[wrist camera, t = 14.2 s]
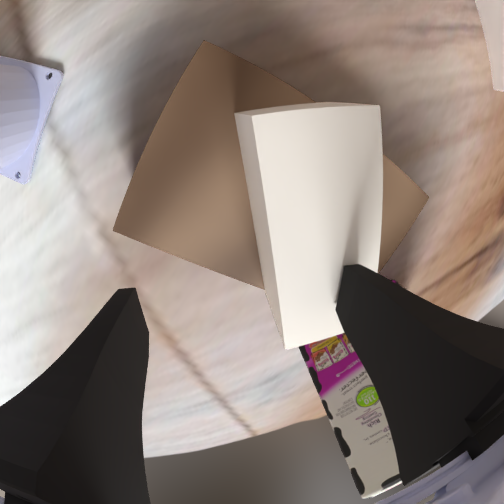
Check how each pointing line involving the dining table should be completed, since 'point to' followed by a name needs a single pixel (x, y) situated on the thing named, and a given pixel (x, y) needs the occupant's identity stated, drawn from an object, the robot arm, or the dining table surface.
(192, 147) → the cubby
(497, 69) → the white tapered slotted holder
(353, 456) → the candy bar box
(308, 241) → the block
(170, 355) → the dining table surface
